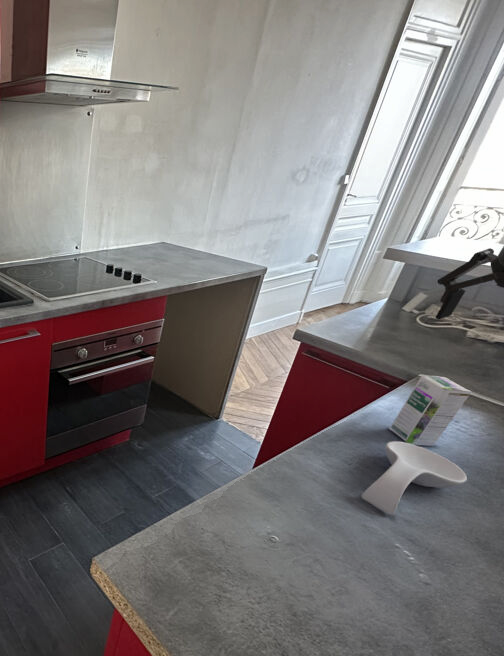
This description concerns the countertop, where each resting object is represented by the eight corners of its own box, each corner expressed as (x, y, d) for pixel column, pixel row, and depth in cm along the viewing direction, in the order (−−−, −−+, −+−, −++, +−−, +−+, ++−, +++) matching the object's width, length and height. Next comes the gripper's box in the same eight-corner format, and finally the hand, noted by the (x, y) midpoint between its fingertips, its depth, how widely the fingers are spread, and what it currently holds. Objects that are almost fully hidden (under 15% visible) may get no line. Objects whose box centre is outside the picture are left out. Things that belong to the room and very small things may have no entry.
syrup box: (387, 428, 94) (419, 374, 88) (412, 429, 94) (446, 376, 88) (409, 445, 89) (445, 389, 83) (435, 446, 89) (473, 391, 83)
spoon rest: (391, 447, 88) (407, 420, 85) (465, 484, 79) (487, 456, 76) (338, 487, 77) (355, 458, 74) (418, 535, 68) (441, 504, 65)
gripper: (442, 220, 77) (400, 307, 91) (622, 288, 58) (535, 385, 72) (480, 207, 77) (432, 296, 91) (673, 271, 58) (575, 371, 72)
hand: (478, 336), depth 82 cm, fingers open, 13 cm apart
